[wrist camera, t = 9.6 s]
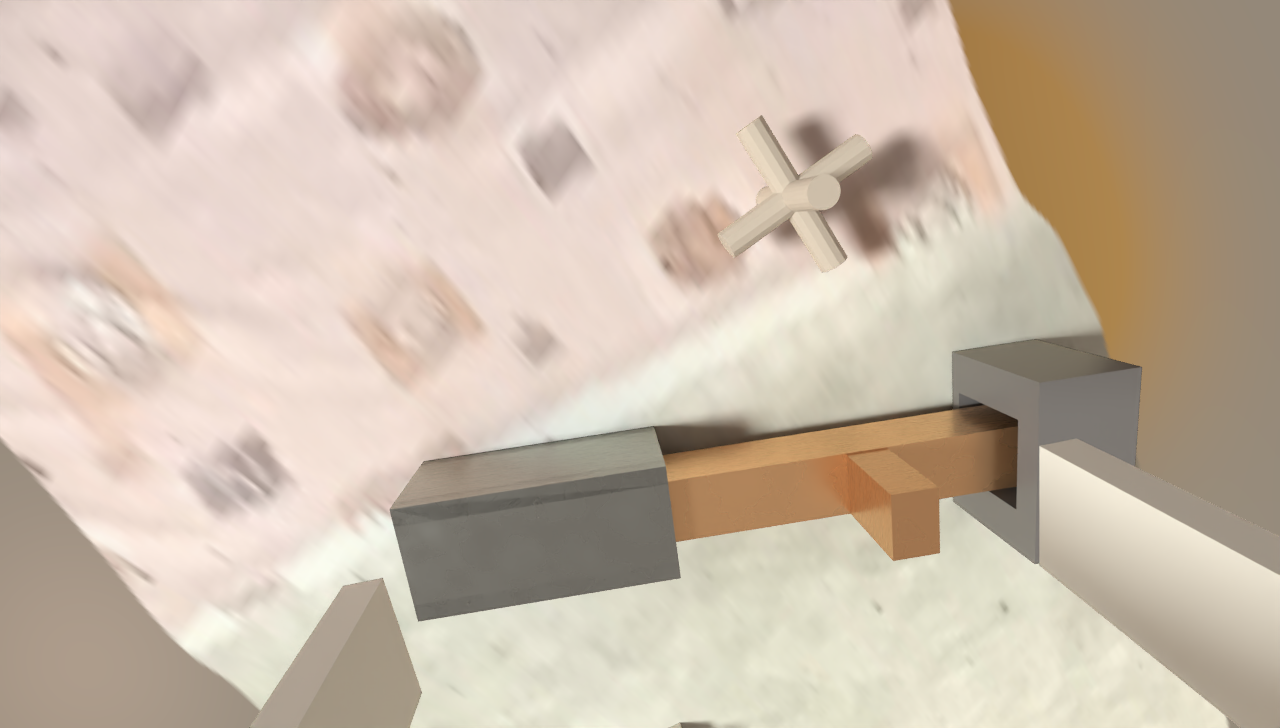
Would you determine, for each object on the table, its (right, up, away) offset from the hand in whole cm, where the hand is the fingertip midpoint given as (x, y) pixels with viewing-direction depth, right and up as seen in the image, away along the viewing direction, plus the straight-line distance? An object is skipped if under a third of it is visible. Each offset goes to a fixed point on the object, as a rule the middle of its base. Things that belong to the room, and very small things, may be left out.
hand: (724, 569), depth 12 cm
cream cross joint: (+7, +15, +29) cm, 34 cm away
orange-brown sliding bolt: (+11, -3, +32) cm, 34 cm away
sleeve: (-9, -6, +33) cm, 34 cm away
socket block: (+26, -1, +35) cm, 43 cm away
